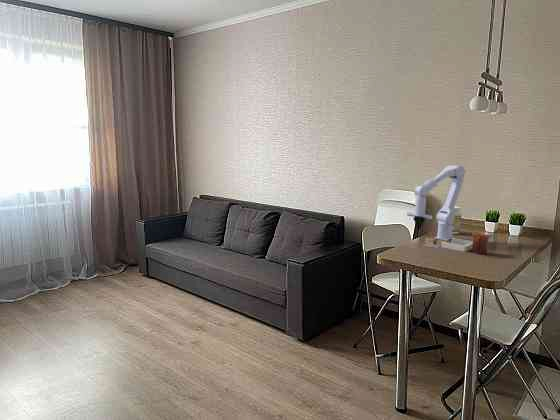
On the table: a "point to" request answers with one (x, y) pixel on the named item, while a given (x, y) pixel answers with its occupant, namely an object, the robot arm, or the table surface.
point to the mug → (480, 242)
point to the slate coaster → (432, 245)
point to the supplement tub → (456, 220)
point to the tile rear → (430, 240)
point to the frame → (458, 247)
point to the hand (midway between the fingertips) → (418, 229)
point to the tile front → (441, 241)
